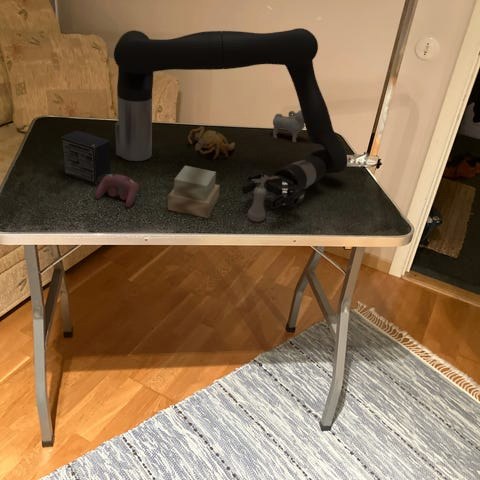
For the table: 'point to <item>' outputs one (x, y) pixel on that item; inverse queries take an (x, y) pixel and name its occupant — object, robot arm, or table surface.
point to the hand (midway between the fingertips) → (257, 197)
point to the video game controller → (111, 185)
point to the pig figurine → (289, 123)
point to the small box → (86, 156)
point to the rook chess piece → (257, 205)
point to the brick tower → (194, 192)
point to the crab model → (210, 141)
